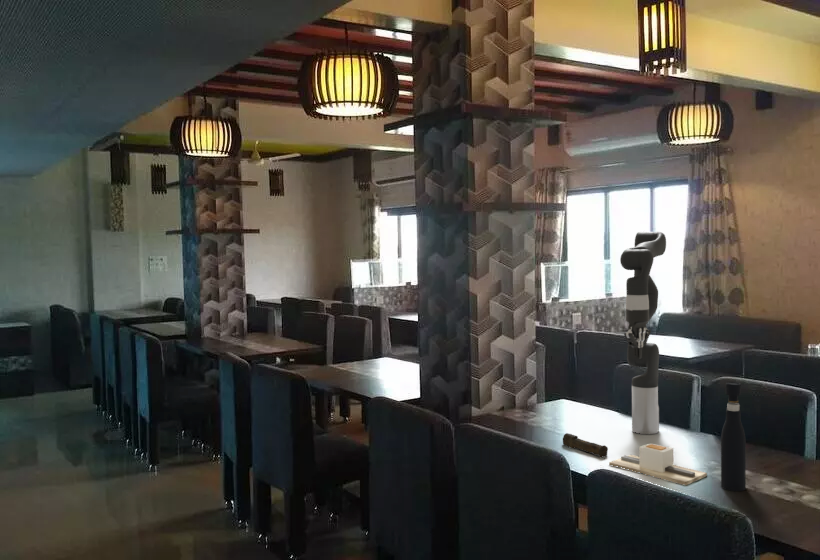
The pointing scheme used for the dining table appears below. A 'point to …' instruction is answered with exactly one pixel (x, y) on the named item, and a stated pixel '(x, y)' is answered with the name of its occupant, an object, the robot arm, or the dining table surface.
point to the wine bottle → (733, 443)
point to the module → (655, 457)
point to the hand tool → (584, 445)
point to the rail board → (670, 474)
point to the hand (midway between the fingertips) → (637, 358)
